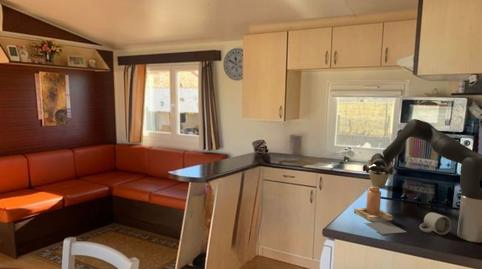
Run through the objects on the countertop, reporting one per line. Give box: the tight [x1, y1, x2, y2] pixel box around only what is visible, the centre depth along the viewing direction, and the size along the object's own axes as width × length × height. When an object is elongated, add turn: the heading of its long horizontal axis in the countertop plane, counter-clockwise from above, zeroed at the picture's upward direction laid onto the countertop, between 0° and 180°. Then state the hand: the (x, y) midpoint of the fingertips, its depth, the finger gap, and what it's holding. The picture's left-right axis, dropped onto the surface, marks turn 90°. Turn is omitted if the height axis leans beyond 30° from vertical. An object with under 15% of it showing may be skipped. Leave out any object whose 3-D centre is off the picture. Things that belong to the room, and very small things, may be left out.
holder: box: [353, 207, 393, 223], centre depth 158 cm, size 12×12×2 cm
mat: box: [363, 221, 407, 236], centre depth 144 cm, size 12×12×1 cm
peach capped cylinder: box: [365, 185, 382, 215], centre depth 157 cm, size 7×6×14 cm
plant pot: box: [367, 159, 394, 188], centre depth 220 cm, size 15×15×16 cm
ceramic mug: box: [419, 212, 452, 235], centre depth 143 cm, size 11×8×8 cm
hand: (376, 172), depth 166 cm, fingers open, 8 cm apart
